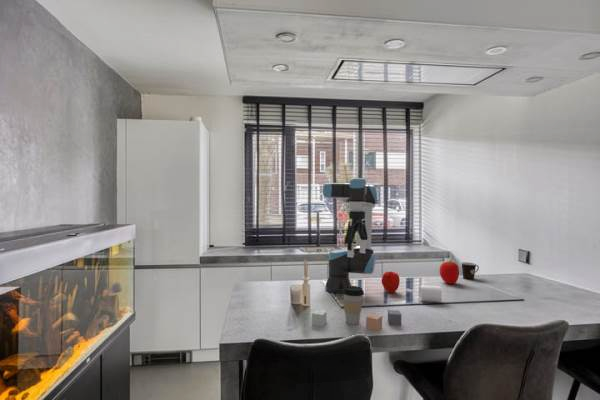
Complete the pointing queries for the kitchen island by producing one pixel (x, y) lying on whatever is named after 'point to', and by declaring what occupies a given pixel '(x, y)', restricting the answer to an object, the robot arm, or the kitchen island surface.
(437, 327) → the kitchen island surface
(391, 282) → the red rounded piece
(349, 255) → the robot arm
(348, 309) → the coffee cup
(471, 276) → the coffee mug
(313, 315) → the sage cube
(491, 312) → the kitchen island surface
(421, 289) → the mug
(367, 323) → the terracotta cube
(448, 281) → the red strawberry
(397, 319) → the charcoal cube
